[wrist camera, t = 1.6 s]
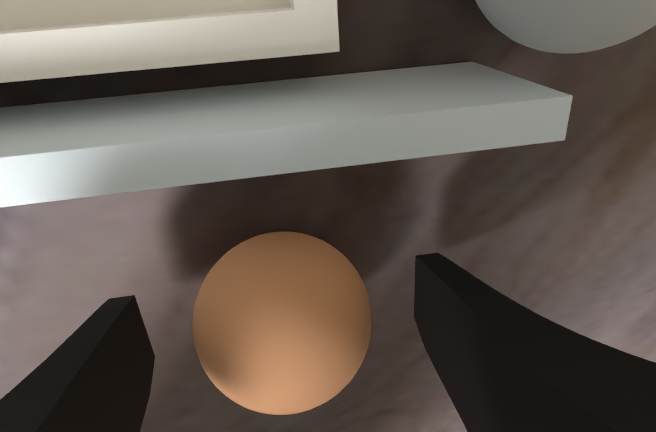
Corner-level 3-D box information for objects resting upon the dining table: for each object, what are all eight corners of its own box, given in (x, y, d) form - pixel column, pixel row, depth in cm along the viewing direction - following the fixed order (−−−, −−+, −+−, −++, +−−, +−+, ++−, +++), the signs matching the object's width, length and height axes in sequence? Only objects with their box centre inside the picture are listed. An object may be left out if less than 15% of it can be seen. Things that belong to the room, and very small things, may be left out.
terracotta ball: (355, 317, 14) (393, 438, 11) (216, 338, 14) (203, 473, 10) (349, 193, 12) (393, 286, 9) (187, 213, 12) (156, 322, 8)
